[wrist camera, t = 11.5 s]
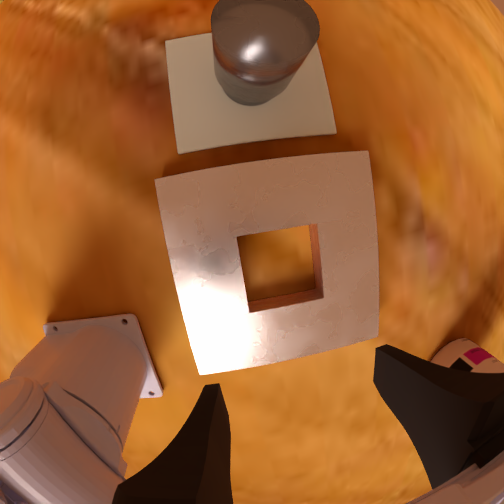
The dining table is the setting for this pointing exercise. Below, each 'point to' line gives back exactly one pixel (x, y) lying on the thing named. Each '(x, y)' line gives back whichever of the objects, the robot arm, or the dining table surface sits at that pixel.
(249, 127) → the pad
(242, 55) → the grey metal cylinder
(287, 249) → the dining table surface
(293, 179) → the housing plate
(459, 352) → the supplement can
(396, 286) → the dining table surface
